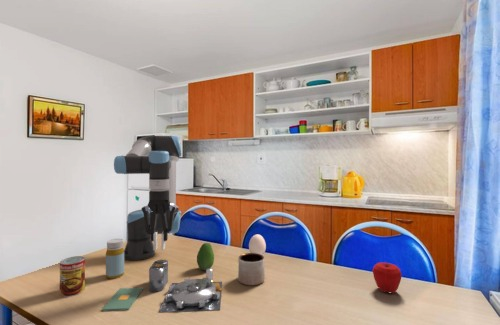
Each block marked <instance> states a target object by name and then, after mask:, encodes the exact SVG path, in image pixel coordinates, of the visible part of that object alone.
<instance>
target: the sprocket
mask: <svg viewBox="0 0 500 325" xmlns="http://www.w3.org/2000/svg"><path fill="white" fill-rule="evenodd" d="M213 272H214V269H213V268H212V267H211V268H207V269H206V270H205V275H206V276H205V277H202V278H192V279H191V278H189V277H188V278H185V279H184V280H183V281H181V282H177V283H178V284H177V285H173V284H172V283H171V284H170V285H169V287H168V291H171V293H170V294H167V293H166V294H165V297H166V301H167V302H168V301H173V302H174V303H176V304H177V308H183V307H184V306H199V308H200V307H204V306H205V303H207V302H209V301H211V300H212V299H218V298H219V297H220V292H216V290H217V289H220V284H219V283H213V282H214V278H213V276H214V274H213Z"/></svg>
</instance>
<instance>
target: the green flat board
mask: <svg viewBox="0 0 500 325" xmlns="http://www.w3.org/2000/svg"><path fill="white" fill-rule="evenodd" d="M143 289H144V288H143V287H126V288H124V287H123V288H122V287H121V288H119V289H118V290H117V291H116V293H114V295H113V296H112V297H110V299H109V300H108V302H107V303H106V304H105V305H104V306H103V307H102V309H101V311H102V312H109V311H130V309H131V308H132V305H133V304H134V303H135V301H136V300H137V298H138V297H139V296H140V294H141V292H142V291H143Z"/></svg>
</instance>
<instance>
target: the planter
mask: <svg viewBox="0 0 500 325" xmlns="http://www.w3.org/2000/svg"><path fill="white" fill-rule="evenodd" d="M237 269H238V270H237V271H238V276H237V278H238V282H240V283H241V284H243V285H245V286H252V287H253V286H258V285H261V284H262V283H264V282H265V279H266V278H265V277H266V276H265V272H266V271H265V256H264V254H263V255H261V254H257V253H250V252H247V253H242V254H240V255H239V256H238V268H237Z"/></svg>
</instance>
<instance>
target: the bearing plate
mask: <svg viewBox="0 0 500 325" xmlns="http://www.w3.org/2000/svg"><path fill="white" fill-rule="evenodd" d="M178 283H179V282H172V283H171V285H172V284H173V285H177V284H178ZM213 283H219V284H220V289H217V290H216V292H220V297H219V298H218V299H212V300H211V301H209V302H207V303H205V306H204V307H200V308H199V306H184V307H183V308H177V304H176V303H174V302H173V301H168V302H167V301H166V296H165V297H164V299H163V302H162V304H161V306H160V308H159V310H158V313H178V312H201V311H202V312H204V311H208V312H209V311H220V310H221V304H222V303H221V302H222V291H223V281H213ZM170 293H171V291H169V290H168V291H167V293H166V294H170Z"/></svg>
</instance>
